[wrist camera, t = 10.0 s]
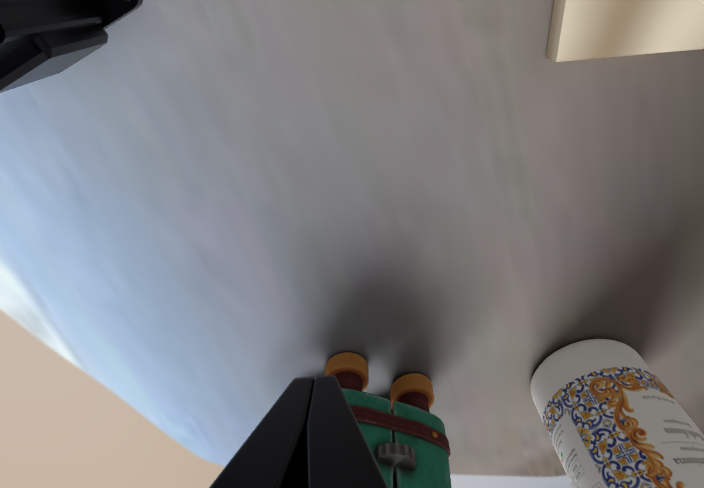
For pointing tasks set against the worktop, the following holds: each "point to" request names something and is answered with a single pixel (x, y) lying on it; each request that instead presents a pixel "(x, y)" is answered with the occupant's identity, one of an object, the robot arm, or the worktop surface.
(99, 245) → the worktop surface
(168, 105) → the worktop surface
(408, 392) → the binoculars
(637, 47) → the birch board
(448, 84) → the worktop surface
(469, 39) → the worktop surface
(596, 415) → the bath foam
